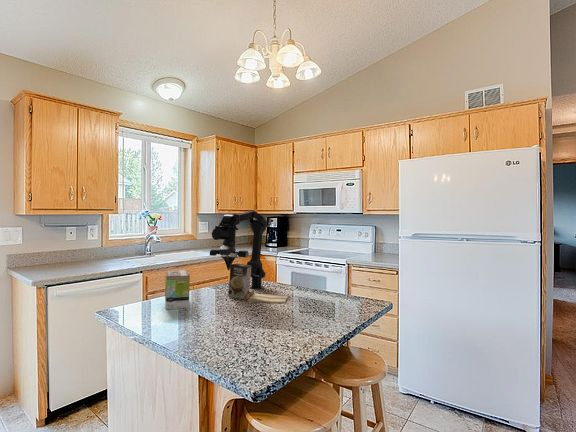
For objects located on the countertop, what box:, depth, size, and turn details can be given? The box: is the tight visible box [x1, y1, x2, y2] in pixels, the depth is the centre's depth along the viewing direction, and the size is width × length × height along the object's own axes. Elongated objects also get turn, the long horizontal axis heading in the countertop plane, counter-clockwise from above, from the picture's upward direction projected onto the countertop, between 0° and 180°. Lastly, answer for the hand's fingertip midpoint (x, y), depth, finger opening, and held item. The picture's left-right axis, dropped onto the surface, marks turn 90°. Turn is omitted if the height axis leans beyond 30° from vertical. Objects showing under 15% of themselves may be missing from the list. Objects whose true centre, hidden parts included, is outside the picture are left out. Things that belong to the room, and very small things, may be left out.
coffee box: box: [227, 262, 252, 300], centre depth 166 cm, size 9×6×16 cm
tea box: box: [164, 269, 191, 310], centre depth 151 cm, size 15×10×15 cm
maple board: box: [247, 293, 289, 304], centre depth 163 cm, size 13×18×1 cm
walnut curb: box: [244, 289, 255, 302], centre depth 165 cm, size 14×1×2 cm, turn 172°
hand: (228, 270), depth 166 cm, fingers closed
